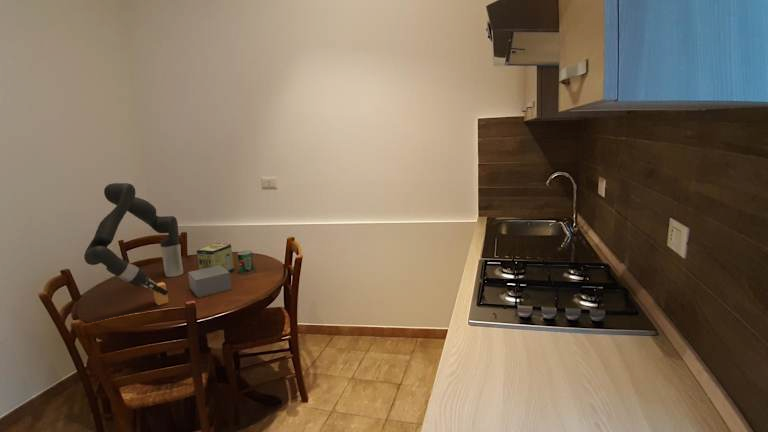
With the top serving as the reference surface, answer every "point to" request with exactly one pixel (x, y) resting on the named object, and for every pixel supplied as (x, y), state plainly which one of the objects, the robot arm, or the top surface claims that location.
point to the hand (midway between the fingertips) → (164, 292)
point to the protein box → (216, 256)
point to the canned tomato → (245, 262)
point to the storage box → (209, 281)
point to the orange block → (160, 295)
